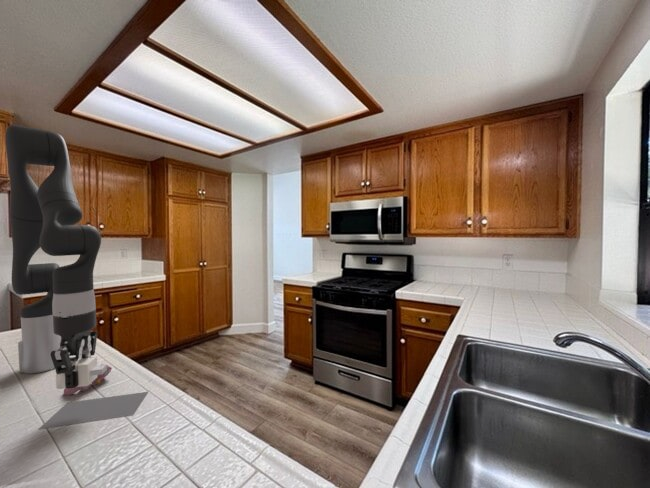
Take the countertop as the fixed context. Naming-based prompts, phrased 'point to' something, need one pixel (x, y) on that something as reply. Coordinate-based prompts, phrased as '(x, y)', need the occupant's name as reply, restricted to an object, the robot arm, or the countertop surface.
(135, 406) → the rubber mat
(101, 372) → the plug block
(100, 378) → the video game controller
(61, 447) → the countertop surface
